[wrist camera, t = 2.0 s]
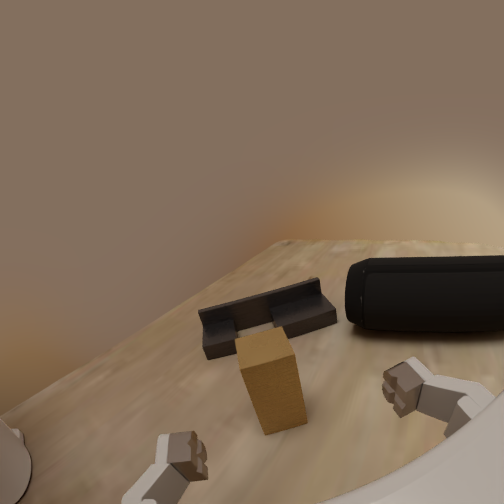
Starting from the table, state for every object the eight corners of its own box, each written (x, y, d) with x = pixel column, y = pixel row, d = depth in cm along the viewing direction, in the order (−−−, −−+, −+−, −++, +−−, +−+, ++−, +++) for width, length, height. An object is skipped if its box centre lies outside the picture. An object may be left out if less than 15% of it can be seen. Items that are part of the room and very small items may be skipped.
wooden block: (265, 435, 23) (239, 369, 20) (258, 405, 27) (234, 339, 25) (307, 423, 24) (294, 354, 21) (296, 395, 28) (281, 326, 25)
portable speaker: (504, 305, 27) (512, 244, 25) (516, 345, 20) (535, 275, 17) (361, 305, 42) (356, 247, 39) (345, 342, 35) (339, 277, 32)
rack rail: (337, 322, 39) (334, 294, 38) (207, 360, 38) (196, 333, 36) (321, 303, 46) (317, 277, 44) (207, 335, 44) (198, 310, 43)
